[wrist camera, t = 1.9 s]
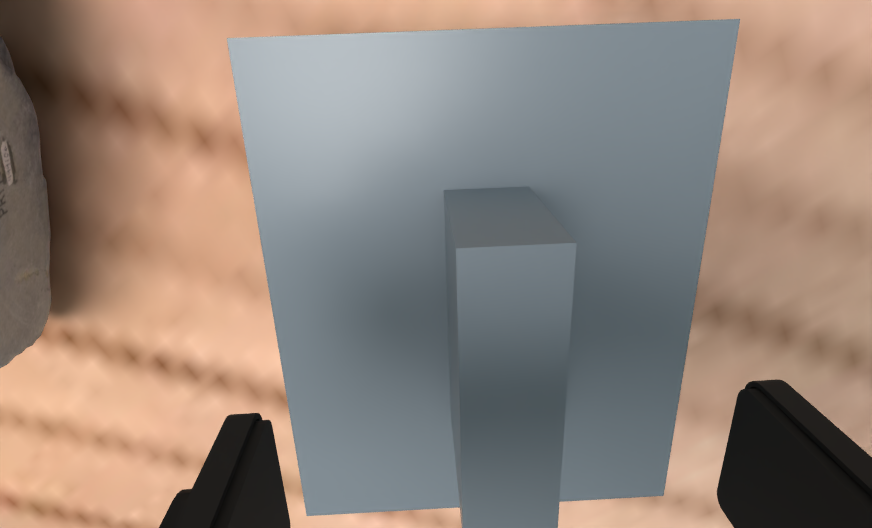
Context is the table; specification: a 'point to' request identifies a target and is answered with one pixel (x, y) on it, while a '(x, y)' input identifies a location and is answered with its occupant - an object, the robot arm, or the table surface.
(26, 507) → the table surface
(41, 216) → the decorative rock
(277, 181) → the lid
